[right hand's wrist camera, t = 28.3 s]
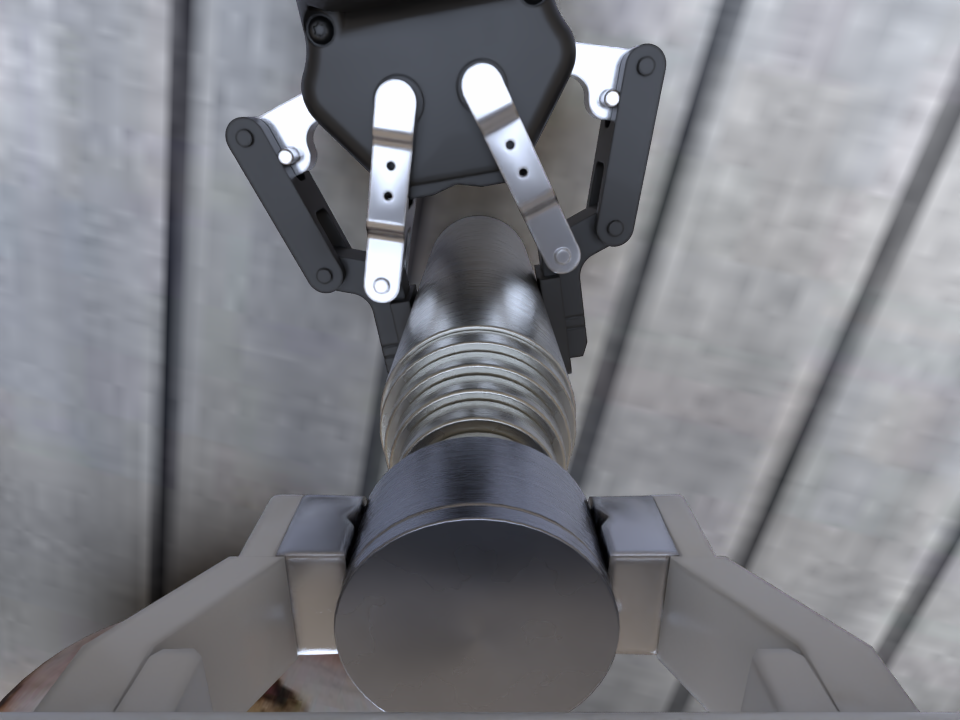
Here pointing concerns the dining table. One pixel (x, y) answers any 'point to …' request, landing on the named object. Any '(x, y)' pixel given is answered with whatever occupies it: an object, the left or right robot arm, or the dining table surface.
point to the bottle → (478, 352)
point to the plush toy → (297, 690)
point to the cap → (476, 585)
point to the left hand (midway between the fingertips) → (491, 375)
